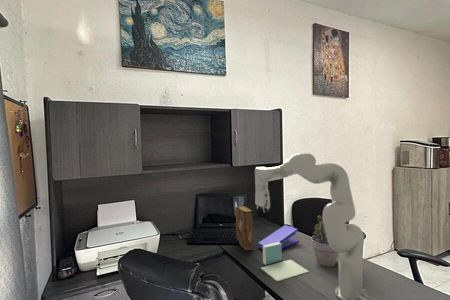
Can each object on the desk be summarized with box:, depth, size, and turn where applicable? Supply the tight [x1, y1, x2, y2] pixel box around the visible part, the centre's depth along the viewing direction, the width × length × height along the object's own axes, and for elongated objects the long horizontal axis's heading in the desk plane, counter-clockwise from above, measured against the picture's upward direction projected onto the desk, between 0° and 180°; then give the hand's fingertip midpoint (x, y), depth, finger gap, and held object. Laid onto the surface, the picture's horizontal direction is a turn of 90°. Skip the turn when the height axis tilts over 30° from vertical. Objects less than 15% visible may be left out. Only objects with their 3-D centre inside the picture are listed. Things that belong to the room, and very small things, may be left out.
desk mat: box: [260, 259, 310, 283], centre depth 138 cm, size 15×20×1 cm
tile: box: [262, 242, 283, 266], centre depth 147 cm, size 3×11×10 cm, turn 114°
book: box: [234, 205, 254, 251], centre depth 171 cm, size 16×6×25 cm, turn 21°
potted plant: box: [310, 214, 338, 267], centre depth 144 cm, size 18×20×25 cm
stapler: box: [258, 224, 300, 251], centre depth 171 cm, size 12×28×10 cm, turn 127°
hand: (262, 216), depth 156 cm, fingers open, 5 cm apart
